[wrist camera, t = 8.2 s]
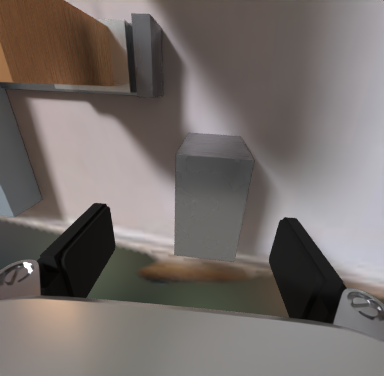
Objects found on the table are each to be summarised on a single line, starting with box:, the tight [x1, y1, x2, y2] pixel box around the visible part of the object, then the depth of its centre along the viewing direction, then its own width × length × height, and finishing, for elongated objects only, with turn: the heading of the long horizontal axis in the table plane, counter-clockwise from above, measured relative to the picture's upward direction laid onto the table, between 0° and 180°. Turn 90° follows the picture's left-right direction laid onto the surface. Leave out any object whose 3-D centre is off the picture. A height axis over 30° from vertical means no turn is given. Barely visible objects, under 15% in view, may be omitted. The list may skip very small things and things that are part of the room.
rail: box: [0, 14, 163, 98], centre depth 13 cm, size 12×4×3 cm, turn 87°
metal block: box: [174, 133, 254, 262], centre depth 14 cm, size 4×7×6 cm, turn 177°
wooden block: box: [0, 0, 137, 93], centre depth 9 cm, size 5×4×8 cm
